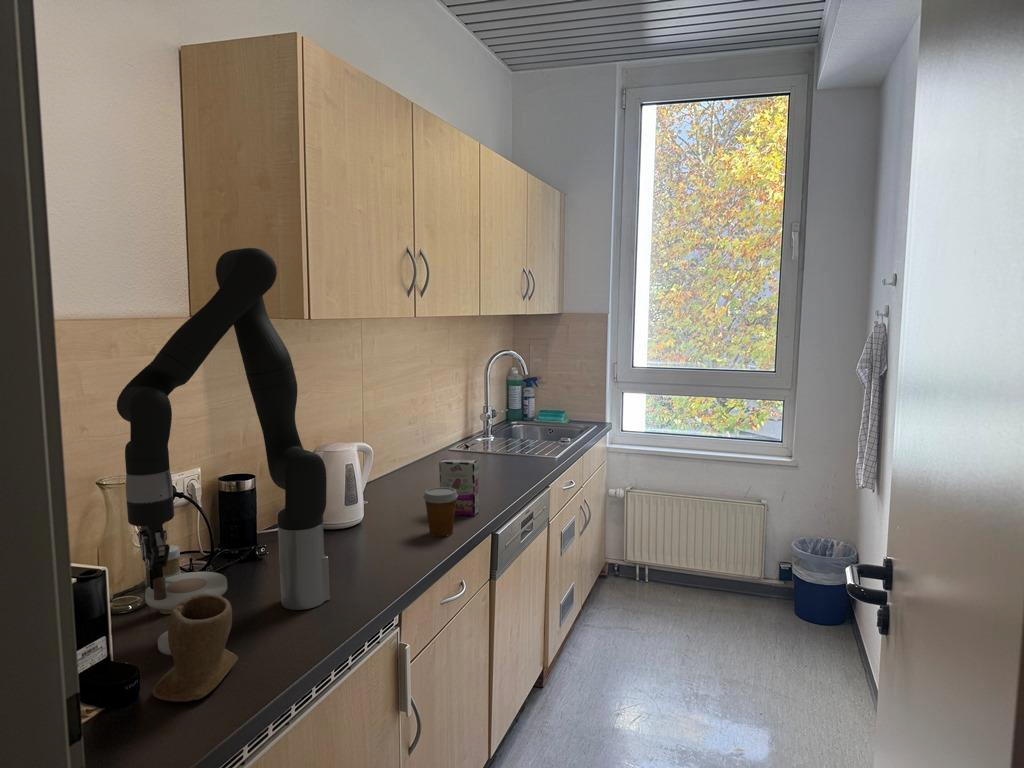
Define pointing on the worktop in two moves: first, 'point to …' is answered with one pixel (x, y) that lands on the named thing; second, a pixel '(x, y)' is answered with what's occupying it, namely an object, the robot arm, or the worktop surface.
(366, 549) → the worktop surface
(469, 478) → the candy bar box
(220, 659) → the stone cup
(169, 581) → the turntable
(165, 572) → the sprinkles bottle
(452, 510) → the disposable coffee cup
